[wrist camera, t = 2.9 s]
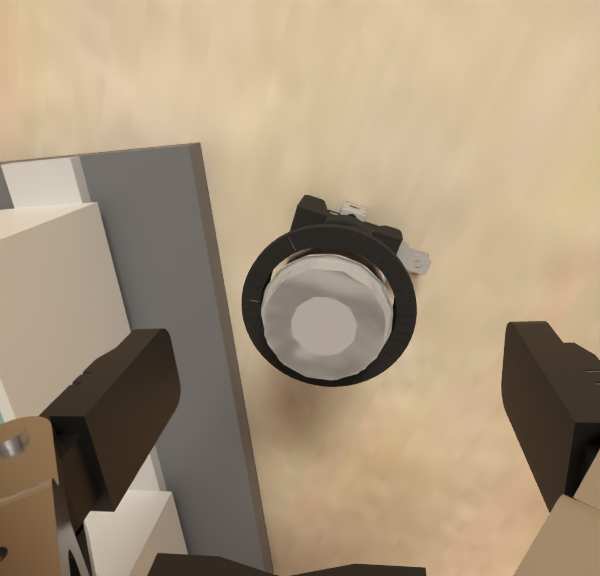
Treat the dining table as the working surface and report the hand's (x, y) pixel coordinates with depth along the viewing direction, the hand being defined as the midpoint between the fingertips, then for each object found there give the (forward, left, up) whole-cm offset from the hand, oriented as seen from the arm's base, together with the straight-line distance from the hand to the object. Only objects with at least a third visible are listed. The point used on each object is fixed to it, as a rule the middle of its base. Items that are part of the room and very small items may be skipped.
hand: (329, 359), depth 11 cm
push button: (0, +1, -12) cm, 12 cm away
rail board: (+14, +10, -12) cm, 21 cm away
